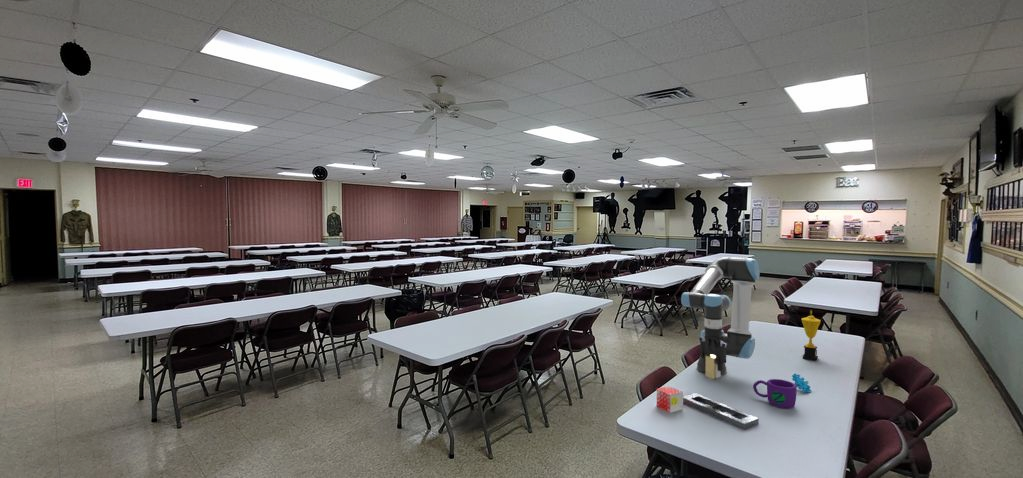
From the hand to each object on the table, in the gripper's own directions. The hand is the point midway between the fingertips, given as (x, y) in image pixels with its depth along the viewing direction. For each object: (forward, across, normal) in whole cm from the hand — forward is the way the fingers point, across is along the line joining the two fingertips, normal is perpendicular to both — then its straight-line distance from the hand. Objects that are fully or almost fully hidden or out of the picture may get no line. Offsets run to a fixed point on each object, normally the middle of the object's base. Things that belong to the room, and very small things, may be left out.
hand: (712, 375), depth 201 cm
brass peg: (+1, 0, 0) cm, 1 cm away
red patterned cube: (+10, -2, -28) cm, 30 cm away
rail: (+10, +12, -14) cm, 21 cm away
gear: (+12, +17, +45) cm, 50 cm away
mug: (+11, +18, +18) cm, 28 cm away
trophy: (+13, -8, +104) cm, 105 cm away
